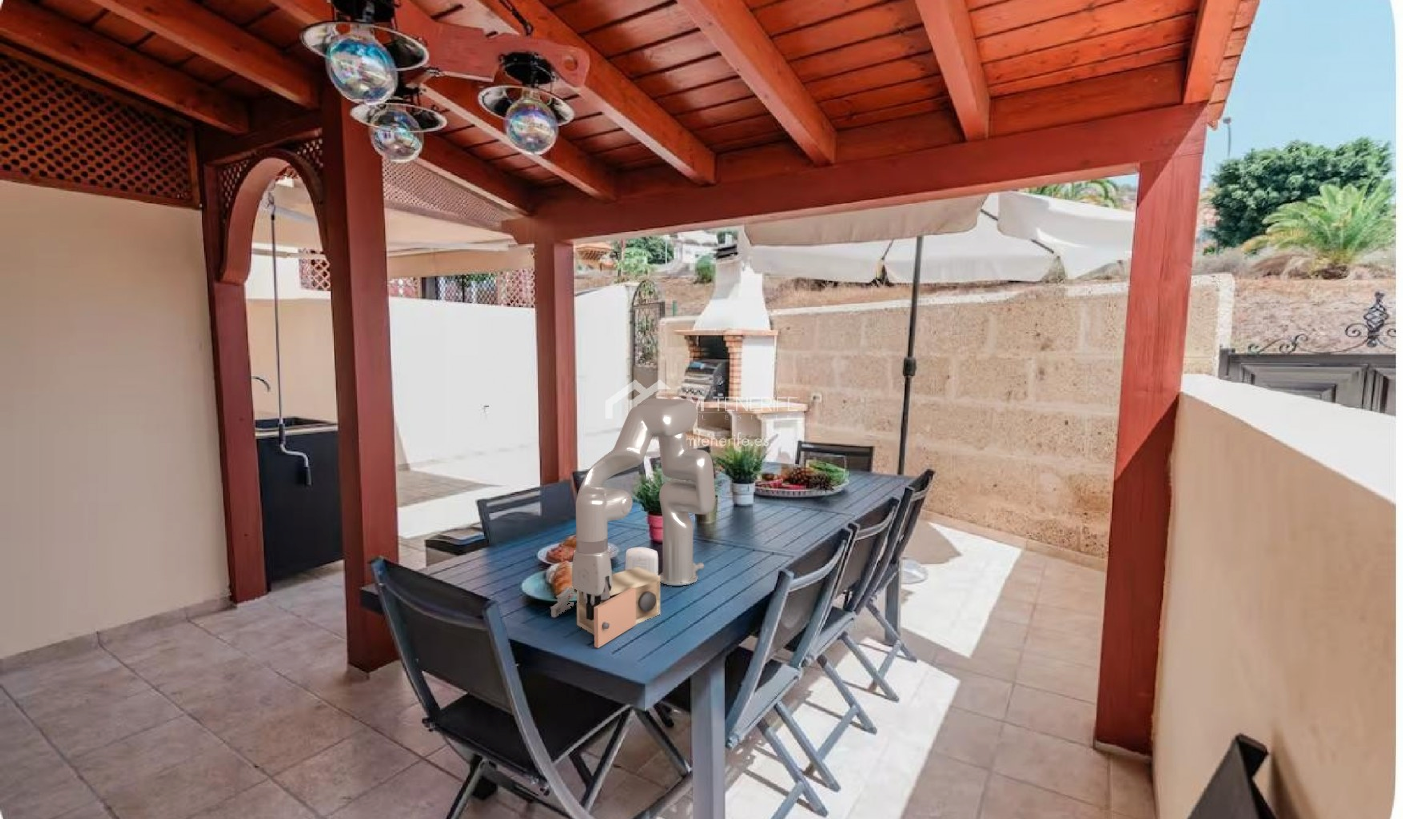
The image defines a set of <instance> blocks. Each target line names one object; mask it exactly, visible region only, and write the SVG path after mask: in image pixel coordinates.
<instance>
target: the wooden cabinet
mask: <svg viewBox="0 0 1403 819" xmlns="http://www.w3.org/2000/svg"><path fill="white" fill-rule="evenodd" d="M630 588H636V625H638V624H640V623H643V622H645V620H646V621H648V620H647V619H649V618H651V619H654V618H656V617H655V616H657V615H659V614H660V615H661V583H660V576H659V574H658V575H656V574H654V573H652V572H649V571H647V570H644V569H642V568H639V567H636V568H632V569H629V570H622V571H619V572H615V573H612V589H611V591H609V594H610V598H609V599H611V598H613V597H615V596H617V595H619V594H620V593H622V592H624V591H626V590H628V589H630ZM609 599H606V600H602V602H600V604H601V603H603V602H605V601H607V600H609ZM653 617H654V618H653ZM657 617H658V616H657ZM649 620H650V619H649ZM576 625H577V626H578V627H579V628H581V627H582V629H583V630H585V631H586V630H587V632H588V633H590V634H591V635H593V636H594V620H592V621H591V620H589V619H586V603H585V602H584V596H583V595H582V593H581V592H579V591H578V590H577V603H576Z"/></svg>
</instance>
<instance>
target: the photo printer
mask: <svg viewBox="0 0 1403 819" xmlns="http://www.w3.org/2000/svg"><path fill="white" fill-rule="evenodd" d="M624 566H625V568H624V569H625V570H629V569H632V568H636V567H639V568H642V569H644V570H647V571H649V572H652V573H654V574H656V575H659V554H658V551H657V550H655V549H652V548H649V547H645V546H644V547H643V546H638V547H635V546H634V547H631V548H630V547H629V548H628V549H626V553H625V565H624ZM625 570H624V571H625Z"/></svg>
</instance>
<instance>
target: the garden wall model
mask: <svg viewBox="0 0 1403 819" xmlns="http://www.w3.org/2000/svg"><path fill="white" fill-rule="evenodd" d="M574 589H575V588H572V586H566V587H565V588H564V589H563V590H562V591H561V592H560V593H559V594H557V595H556V596H555V597H556V598H557V603H555V604H553V606H549V608H550V610H551V612H550V614H551V618H557V617H558V616H560V615H561V614H563V613H565V612H566V611H567V610H570V609H571V607H570V606H572V607H574V606H575V605H574V602H569V600H568V598H569V597H568V596H569V595H570V594H574V593H573V591H574ZM568 603H570V604H568ZM567 604H568V605H567ZM565 610H566V611H565ZM562 612H563V613H562ZM559 614H560V615H559Z"/></svg>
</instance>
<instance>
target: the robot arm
mask: <svg viewBox="0 0 1403 819" xmlns="http://www.w3.org/2000/svg"><path fill="white" fill-rule="evenodd" d="M697 418H698V409H697V407H696V405H695V403H694V402H693V401H691V400H689V399H680V398H679V399H678V398H676V399H675V398H672V399H671V398H660V397H659V398H655V397H654V398H646V399H644V400H642V401H641V403H640V404H639V405H636V406H633V407H632V408H631V409H630V410H629V412H628V414H627V416H626V418H625V421H624V423H623V425H622V428H621V430H620V433H619V435H618V438H617V439H616V441H615V444H614V448H612V450H611V451H610V452H608V453H607V454H604V455H603V456H602V457H601V458H599V460H597V461H596V462H595V463H594V464H593V465H592V466H591V467H590V468H589V469H588V471H586V474H585V476H584V478H583V480H582V483H581V485H580V487H579V490H578V493H577V496H576V501H575V525H576V526H575V528H576V529H575V534H576V535H575V536H576V538H575V542H576V549H574V550H575V552H574V551H573V558H572V565H571V566H572V567H571V568H572V569H571V587H572V586H573V588H575V589H576V590H578V591H579V592H581V593H582V595H583V596H584V602H585V603H586V619H589V620H591V621H592V620H594V607H596V606H598V605H600V602H602V600H606V599H609V598H610V594H609V591H611V589H612V574H613V570H612V561H611V555H610V551H609V547H608V546H609V545H608V542H609V541H608V540H609V539H608V538H609V537H608V535H609V534H608V522H611V521H617V520H621V519H624V518H625V517H626V516H628V515H629V514H630V512H631V510H632V509H633V508H632V507H633V504H634V503H633V498H632V496H631V494H630V493H629V492H628V491H626V490H624V489H619V488H611V487H605V486H604V487H603V485H604V483H605V482H607V481H608V479H611V477H613V476H614V475H616V474H619V473H623V472H625V471H628V470H631V469H633V468H635V467H638V466H639V465H641V464H642V463H643V461H644V460H645V456H646V455H647V451H648V449H649V446H650V444H651V442H652V441H651V440H652V439H653V438H654V437H656V438H657V441H658V447H659V456H660V466H661V470H662V474H663V475H664V476H665V477H666V478H668V479H673V480H670V481H666V482H665V483H663V484H662V486H660V490H659V495H658V496H659V503H660V508H661V515H662V572H661V573H658V575H659V576H660V582H661V583H664V584H667V585H686V584H690V583H693V582H696V581H697V579H698V580H699V576H698V574H697V573H696V572H697V571H698V570H702V569H704V568H705V565H704V562H699V563H697V564H696V563H695V562H694V524H693V521H692V518H691V516H690V515H689V514H693V515H709V514H710V513H711V512H713V510H714V508H715V504H716V490H715V489H716V487H715V476H714V475H715V474H714V464H713V460H712V457H711V455H710V454H709V453H708V452H707V451H706V450H704V449H695V448H689V447H688V442H687V433H686V432H687V431H689V430H690V429H691V428H693V426H694V425H696V424H695V423H696V421H697ZM697 582H698V581H697ZM697 582H696V583H697ZM661 583H660V584H661Z"/></svg>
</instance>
